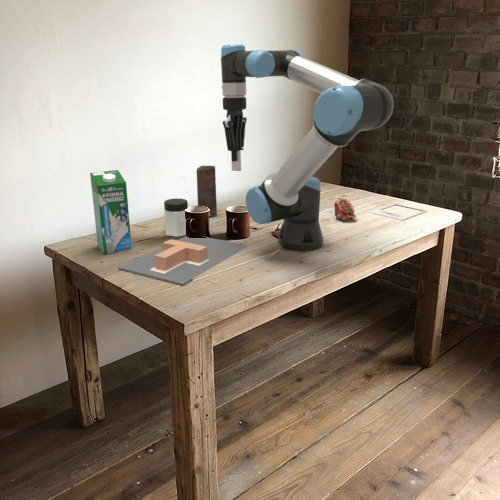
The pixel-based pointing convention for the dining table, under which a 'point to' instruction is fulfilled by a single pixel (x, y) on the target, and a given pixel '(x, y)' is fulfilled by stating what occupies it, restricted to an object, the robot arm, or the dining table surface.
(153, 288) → the dining table surface
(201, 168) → the candle
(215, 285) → the dining table surface
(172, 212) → the jar
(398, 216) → the photo frame
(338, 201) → the flower
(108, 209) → the milk carton
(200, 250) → the t block
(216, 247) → the mat
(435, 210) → the dining table surface
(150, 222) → the dining table surface
